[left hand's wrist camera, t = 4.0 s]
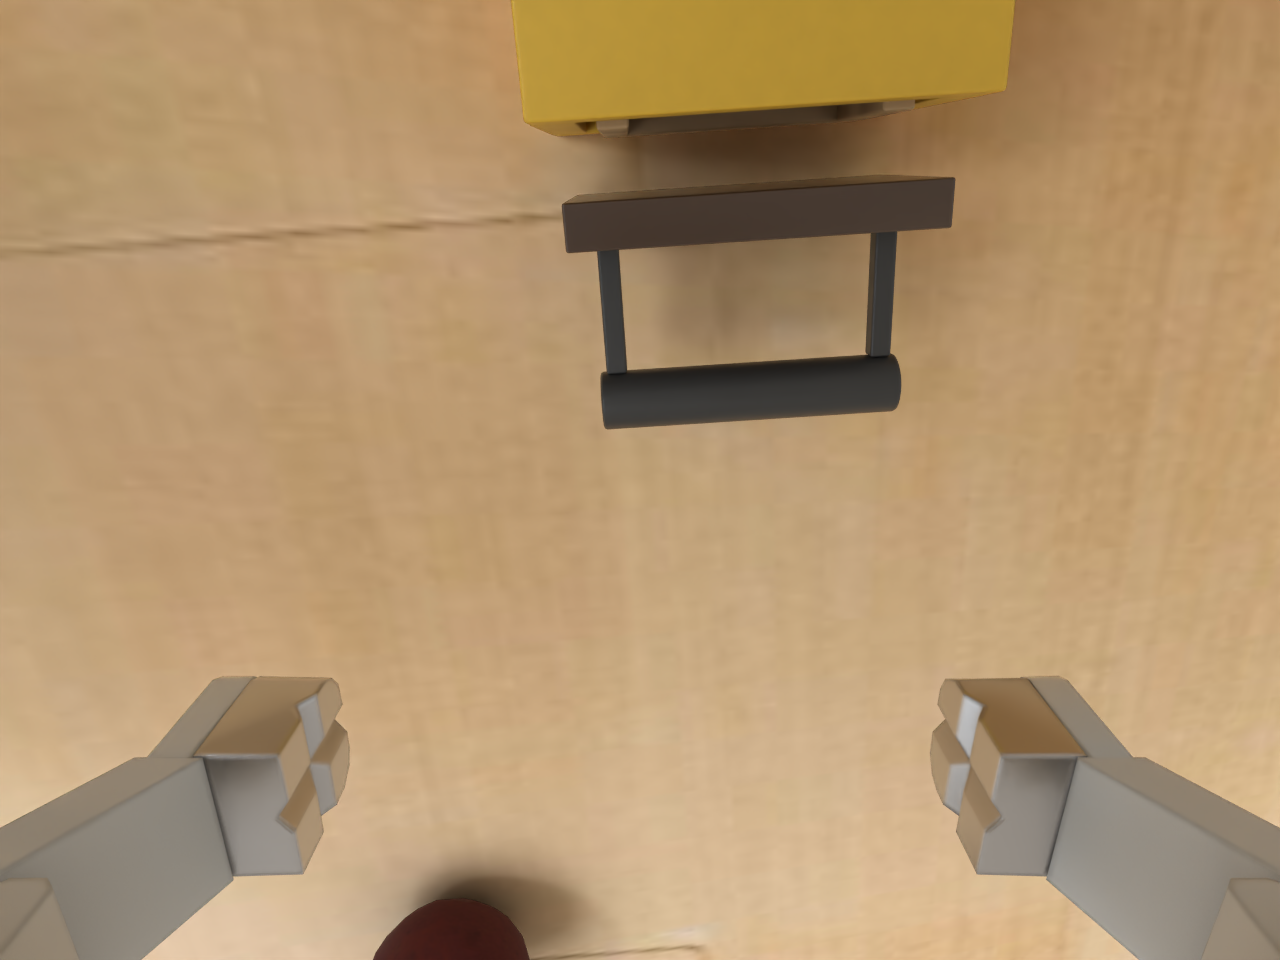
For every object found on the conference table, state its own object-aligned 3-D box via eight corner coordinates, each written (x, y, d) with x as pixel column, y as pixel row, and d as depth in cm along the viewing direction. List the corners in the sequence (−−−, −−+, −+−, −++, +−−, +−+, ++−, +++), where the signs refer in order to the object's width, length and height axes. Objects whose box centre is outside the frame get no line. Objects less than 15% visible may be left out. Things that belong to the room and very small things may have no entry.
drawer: (871, 377, 28) (935, 433, 22) (593, 395, 28) (585, 455, 22) (909, -405, 20) (1023, -636, 14) (526, -376, 20) (485, -594, 14)
